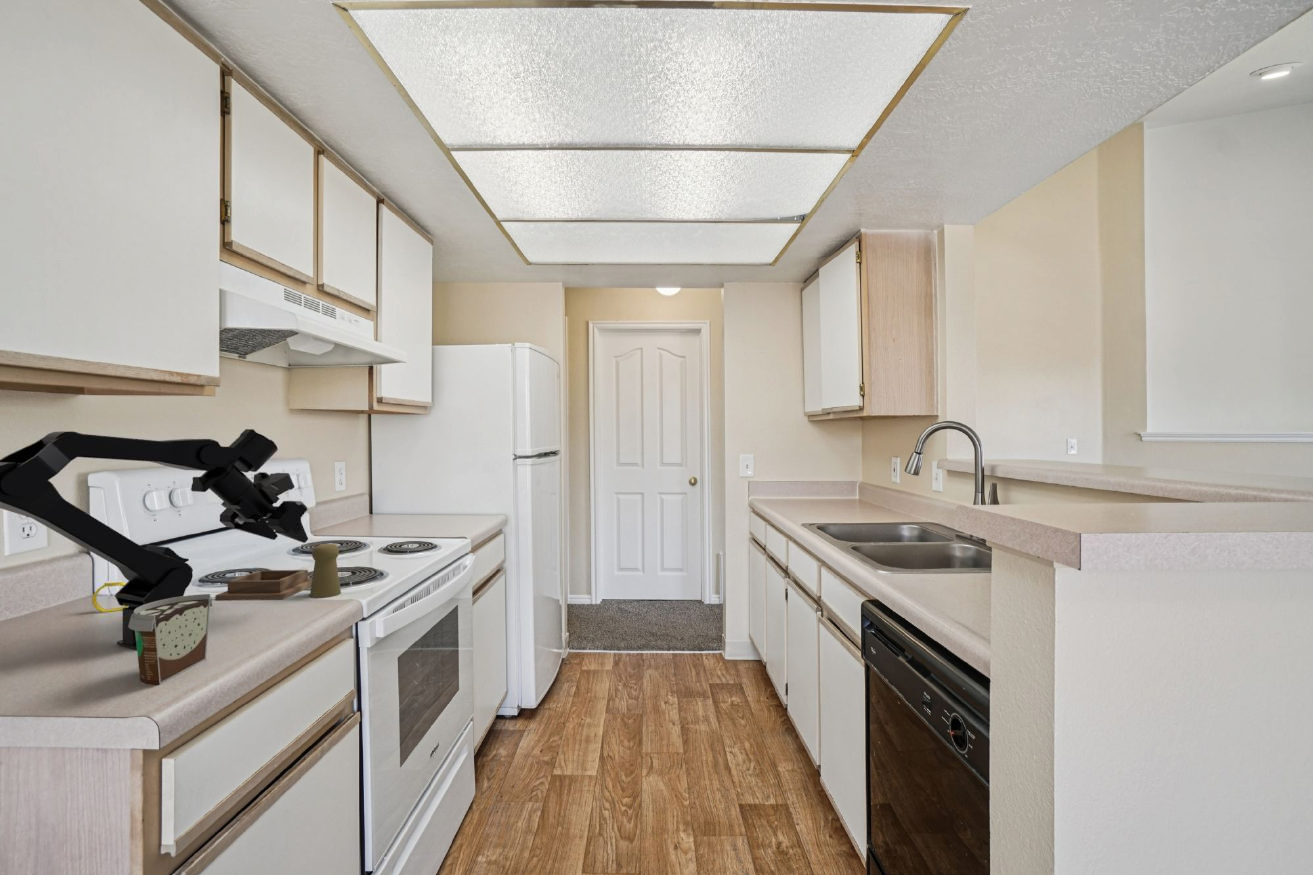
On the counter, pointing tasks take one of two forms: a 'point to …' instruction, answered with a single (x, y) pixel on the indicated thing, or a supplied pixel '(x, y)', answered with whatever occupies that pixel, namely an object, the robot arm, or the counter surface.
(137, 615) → the food container
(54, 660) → the counter surface
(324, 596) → the cork
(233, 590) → the stand
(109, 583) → the watch
